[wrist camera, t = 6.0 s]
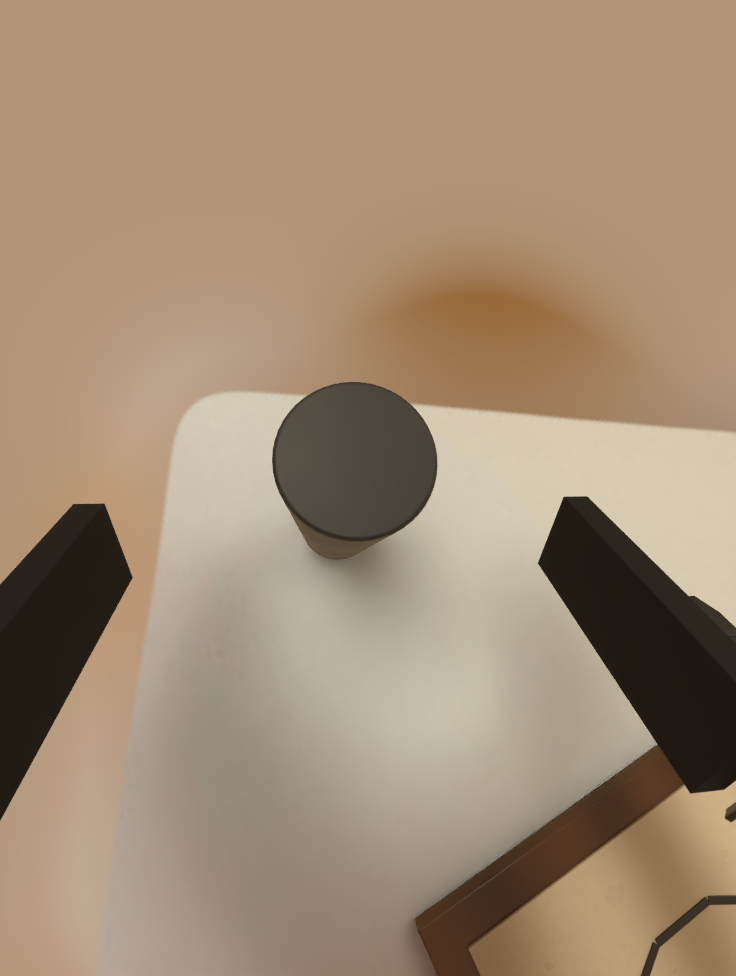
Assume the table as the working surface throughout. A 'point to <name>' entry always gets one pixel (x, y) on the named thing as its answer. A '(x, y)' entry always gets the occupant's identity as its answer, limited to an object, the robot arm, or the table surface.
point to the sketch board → (603, 889)
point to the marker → (353, 466)
